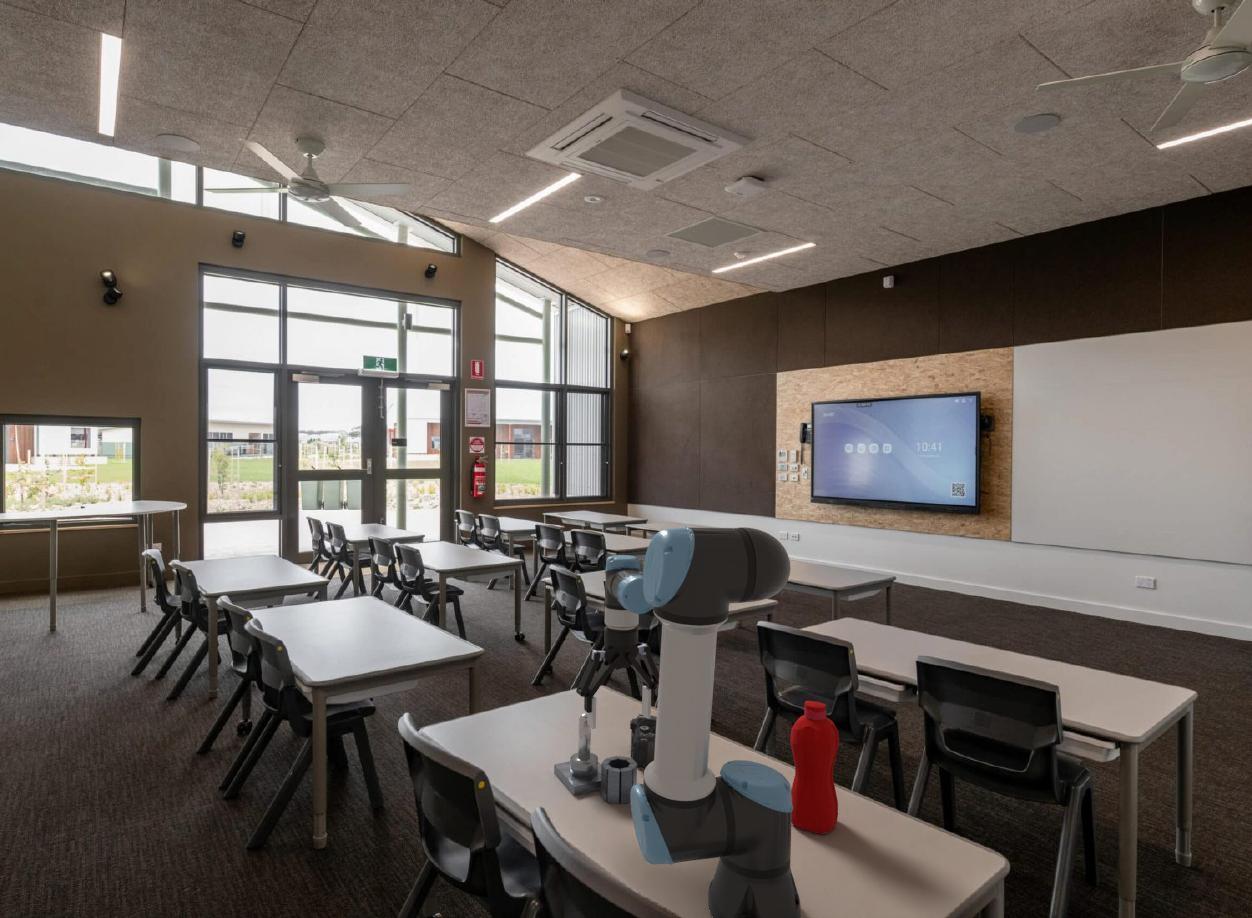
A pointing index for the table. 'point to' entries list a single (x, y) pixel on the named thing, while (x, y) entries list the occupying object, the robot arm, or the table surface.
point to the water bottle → (814, 770)
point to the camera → (643, 739)
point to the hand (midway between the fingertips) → (619, 721)
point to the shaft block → (581, 764)
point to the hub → (618, 779)
